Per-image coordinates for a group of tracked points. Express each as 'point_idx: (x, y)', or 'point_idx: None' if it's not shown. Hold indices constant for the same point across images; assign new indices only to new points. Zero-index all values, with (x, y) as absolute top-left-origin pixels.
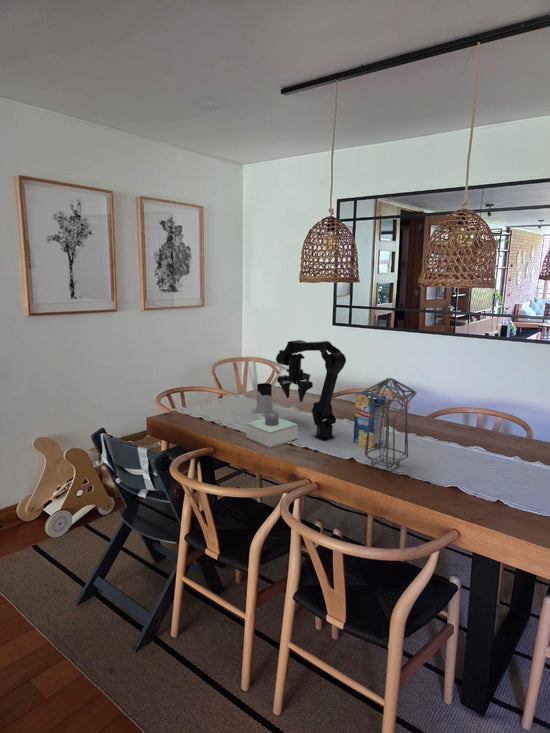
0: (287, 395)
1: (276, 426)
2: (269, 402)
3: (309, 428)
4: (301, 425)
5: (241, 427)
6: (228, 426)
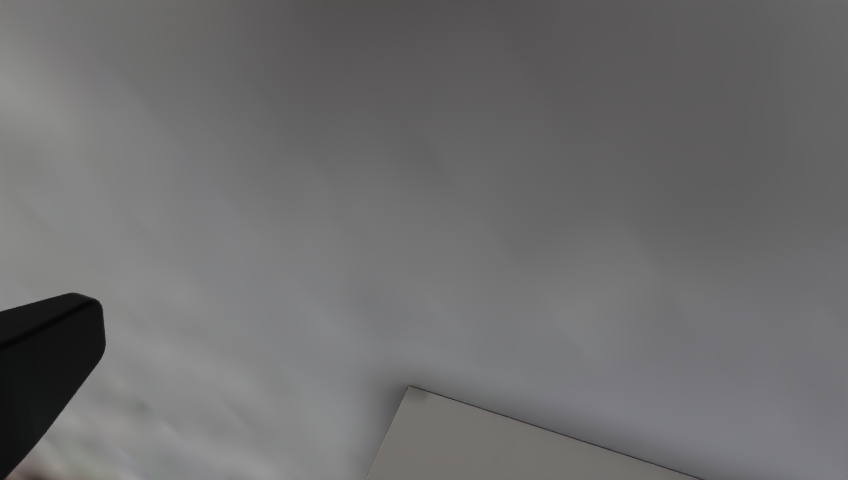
0: (45, 398)
1: None
2: None
3: (821, 73)
4: (610, 22)
5: (136, 450)
6: (54, 471)
